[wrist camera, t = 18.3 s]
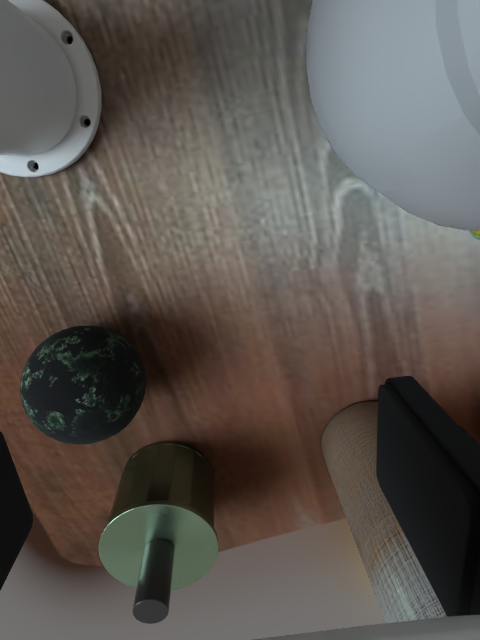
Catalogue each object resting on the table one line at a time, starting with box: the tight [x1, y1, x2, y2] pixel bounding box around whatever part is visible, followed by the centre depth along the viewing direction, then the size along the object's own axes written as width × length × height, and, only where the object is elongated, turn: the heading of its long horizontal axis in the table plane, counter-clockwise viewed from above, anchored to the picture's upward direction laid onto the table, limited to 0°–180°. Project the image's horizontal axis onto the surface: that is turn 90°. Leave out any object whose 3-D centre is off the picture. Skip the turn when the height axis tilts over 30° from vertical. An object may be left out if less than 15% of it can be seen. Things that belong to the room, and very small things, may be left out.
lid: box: [99, 501, 218, 624], centre depth 35 cm, size 11×11×7 cm
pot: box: [108, 442, 214, 527], centre depth 42 cm, size 10×10×8 cm
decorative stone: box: [20, 326, 146, 444], centre depth 35 cm, size 10×10×10 cm
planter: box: [321, 401, 447, 623], centre depth 32 cm, size 10×10×28 cm
